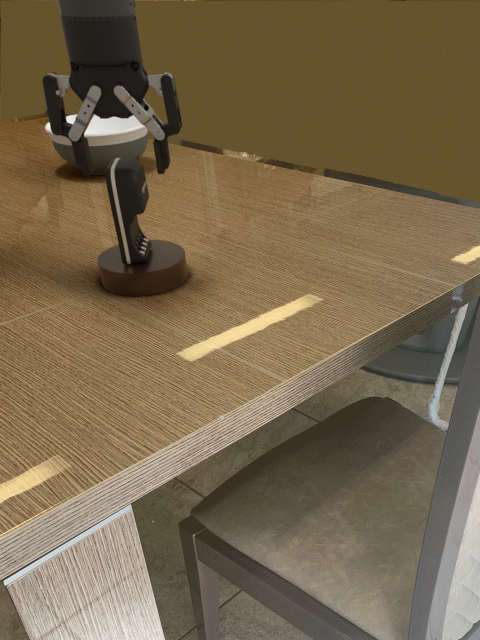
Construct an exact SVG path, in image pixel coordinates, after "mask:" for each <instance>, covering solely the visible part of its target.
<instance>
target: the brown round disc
mask: <svg viewBox="0 0 480 640" xmlns="http://www.w3.org/2000/svg"><path fill="white" fill-rule="evenodd" d="M148 240H149V241H151V250H150V254H149V258H148V260H147V261H145V262H141V263H131V264H124V263H122V259H121V254H120V249H119V244H118V243H117V244H116V245H113V246H111V247H109V248H107V249H105V250H103V251H101V252H100V254H99V255H98V257H97V260H96V261H97V266H98V271H99V276H100V281H101V284H102V286H103V288H104V289H106V290H107V291H109V292H111V293H113V294H116V295H121V296H127V297H129V296H130V297H143V296H144V297H145V296H153V295H157V294H162V293H165V292H169V291H171V290H174V289H176V288H177V287H180V286H182V284H183V283H184V282H186V280H187V279H188V278H189V277H188V276H189V271H188V264H187V257H186V251H185V249H184V247H183V246H181V245H180V244H177V243H175V242H172V241H168V240H163V239H162V240H161V239H148Z"/></svg>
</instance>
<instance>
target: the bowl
mask: <svg viewBox="0 0 480 640" xmlns="http://www.w3.org/2000/svg"><path fill="white" fill-rule="evenodd" d="M77 114H78V113H77ZM77 114H71V115H66V120H67V122H68V123H71V124H73V123H74V121H75V119H76V116H77ZM44 130H45V131H46V133H47V134H48V136H49V138H50V139H51V142H52V145H53V148H54V150H55V151H56V152H57V154H58V155H59V156H60V158H61V159H62V160H63V161H65V162H67V163H68V164H70V165H72V166H74V167H76V168H77V169H78V167H77V165H76V161H75V156H74V152H73V147H72V143H71V141H70V140H69V139H68V138H67V137H64V136H61V135H54V134H53V133H52V131H51V127H50V122H47V123H46V124H45V126H44ZM148 133H149V130H148V129H147V128H146V127H145V126H144V125H142V124H141V123H140V122H139V121H138V119H137V118H136V117H135V116H134V115H133V116H131V117H129V118H126V119H121V118H118V117H111V118H108V119H100V117H98V116H96V115H94V116H93V118H92V120H91V121H90V123H89V125H88V127H87V129H86V131H85V133H84V137H87V139H88V144H89V149H90V154H91V159H92V164H93V172H92V174H91V175H95V176H106V175H105V174H106V169H107V167H108V165H109V163H110V161H111V160H113V159H116V158H120V159H131V158H132V159H137V160H138V161H139V159H141V157H142V156H143V154H144V153H145V151H146V148H147V145H148V142H149V139H148V138H149V137H148V136H149V135H148Z"/></svg>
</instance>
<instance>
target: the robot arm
mask: <svg viewBox="0 0 480 640" xmlns="http://www.w3.org/2000/svg"><path fill="white" fill-rule="evenodd" d="M56 3H57V7H58V12H59V18H60V22H61V26H62V27H61V28H62V31H63V37H64V42H65V46H66V47H65V48H66V51H67V56H68V62H69V66H70V73H69V75H67V74H63V75H62V74H58V73H57V72H55V71H51V72H49V73H47V74H46V75H44V76H42V79H41V80H42V81H41V83H42V86H43V92H44V99H45V105H46V110H47V116H48V121H49V122H50V127H51V131H52V133H53V134H54V135H61V136H64V137H67V138H68V139H69V140H70V141H71V143H72V147H73V152H74V156H75V161H76V165H77V167H78V168H77V167H76V168H77V169H78V170H79V171H82V174H83V175H84V176H92V175H93V174H92V172H93V164H92V159H91V154H90V149H89V144H88V139H87V137H84V133H85V131H86V129H87V127H88V125H89V123H90V121H91V120H92V118H93V116H94V115H96V116H98V117H100V119H108V118H111V117H118V118H121V119H126V118H129V117H131V116H133V115H134V116H135V117H136V118H137V119H138V121H139V122H140V123H141V124H142V125H144V126H145V127H146V128H147V129H148V132H149V133H150V134H151V135H152V136H153V137H154V139H153V140H152V144H153V151H154V158H155V165H156V172H157V175H165V174H166V172H167V170H168V169H169V167H170V163H171V155H170V147H169V140H168V139H169V137H171V136H174V135H178V134H180V132H181V129H182V127H183V119H182V115H181V109H180V104H179V97H178V90H177V85H176V80H175V79H176V78H175V75H174V74H173V73H172V72H171V71H165V72H164V73H163V74H161V73H159V74H148V73H147V71H146V69H145V67H144V63H143V56H142V50H141V42H140V35H139V29H138V21H137V15H136V0H56ZM69 87H70V88H71V90H72V91H73V92H74V94H75V95H76V96H77V97H78V99H80V100H81V102H82V104H81V107H80V108H79V110H78V112H77V116H76V119H75V121H74V123H73V124H71V123H68V122H67V120H66V116H67V114H66V108H65V101H64V97H65V96H66V95H67V94H68V88H69ZM150 87H152V88H153V89H154V90H155V93H156V95H157V96H158V97H161V98H162V99H163V103H164V108H165V114H166V119H167V122H163V121H162V120H161V119H160V118H159V117H158V115H157V114H156V112H155V110H154V109H153V108H152V107H151V105H150V104H149V103H148V102H147V101H146V99H145V97H146V95H147V93H148V90H149V89H150ZM49 122H48V123H49Z"/></svg>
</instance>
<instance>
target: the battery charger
mask: <svg viewBox="0 0 480 640" xmlns="http://www.w3.org/2000/svg"><path fill="white" fill-rule="evenodd" d="M104 176H105V185H106V189H107V195H108V199H109V206H110V209H111V215H112V219H113V225H114V229H115V233H116V239H117V245H118V244H119V249H120V254H121V259H122V263H124V264H131V263H141V262H145V261H147V260H148V258H149V254H150V250H151V241H149V240H150V239H148V238H147V236H146V235H145V233H144V232H143V230H142V229H141V226H140V224H139V219H138V215H143V214H144V213H145V211H146V208H147V206H148V202H149V198H150V194H149V193H150V192H149V188H148V187H149V186H148V183H147V182H148V181H147V177H146V173H145V169H144V166H143V164H142V162H140V161H139V159H138V160H137V159H132V158H131V159H120V158H116V159H113V160H111V161H110V163H109V165H108V167H107V169H106V174H105V175H104Z"/></svg>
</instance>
